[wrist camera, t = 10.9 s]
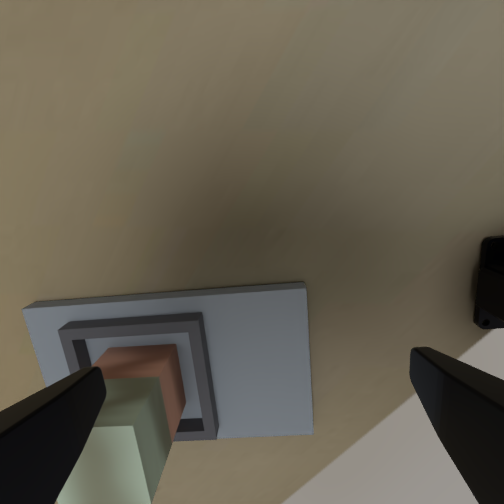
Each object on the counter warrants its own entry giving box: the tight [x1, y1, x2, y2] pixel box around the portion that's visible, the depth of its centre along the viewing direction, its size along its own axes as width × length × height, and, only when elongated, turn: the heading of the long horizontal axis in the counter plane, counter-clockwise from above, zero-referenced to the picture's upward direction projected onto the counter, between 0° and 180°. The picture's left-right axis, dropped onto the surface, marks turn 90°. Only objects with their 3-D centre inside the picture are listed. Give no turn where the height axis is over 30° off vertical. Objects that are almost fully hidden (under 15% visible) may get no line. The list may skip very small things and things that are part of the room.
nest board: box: [22, 282, 314, 441], centre depth 21 cm, size 20×12×2 cm, turn 95°
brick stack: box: [57, 344, 186, 504], centre depth 18 cm, size 5×5×7 cm
